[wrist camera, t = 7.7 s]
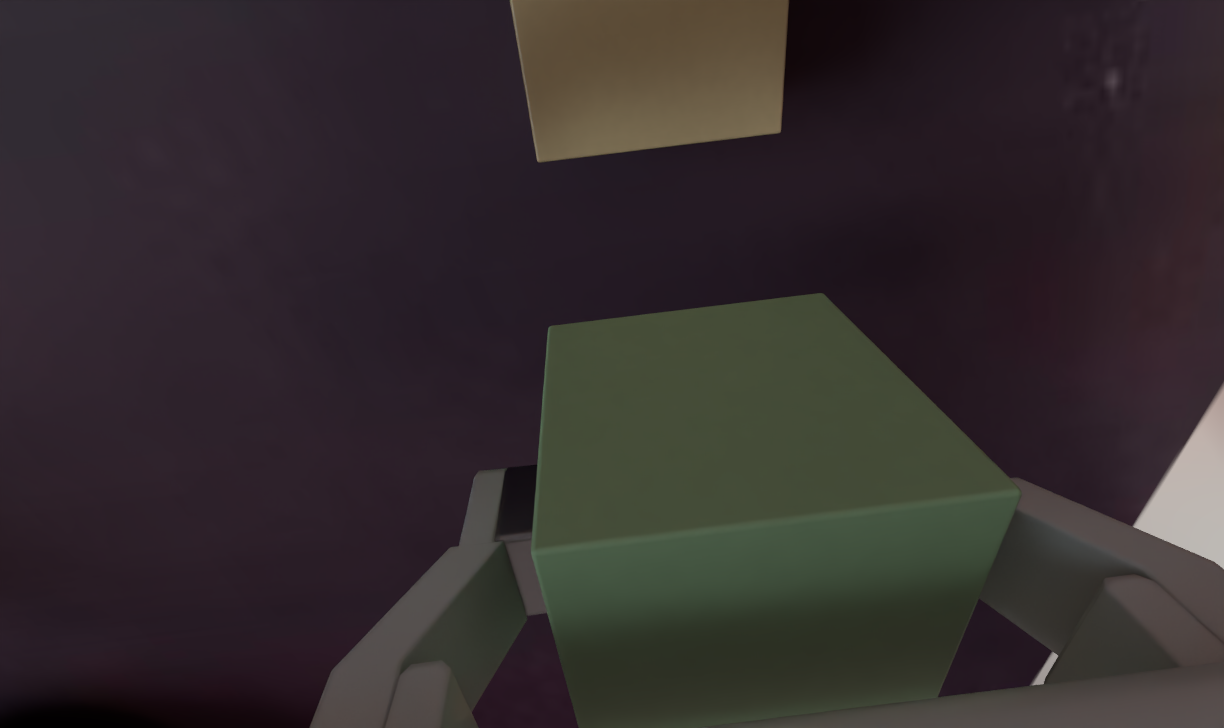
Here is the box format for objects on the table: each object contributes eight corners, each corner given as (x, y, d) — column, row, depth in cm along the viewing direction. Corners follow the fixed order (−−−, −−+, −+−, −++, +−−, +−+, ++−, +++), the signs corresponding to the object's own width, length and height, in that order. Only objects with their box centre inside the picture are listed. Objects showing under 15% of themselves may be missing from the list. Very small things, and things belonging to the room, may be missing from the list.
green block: (547, 325, 10) (528, 553, 5) (822, 291, 10) (1027, 491, 5) (583, 518, 12) (590, 776, 8) (800, 491, 12) (924, 734, 8)
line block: (510, -104, 12) (480, -177, 8) (723, -129, 12) (803, -217, 8) (546, 127, 15) (537, 163, 11) (722, 106, 15) (781, 133, 11)
